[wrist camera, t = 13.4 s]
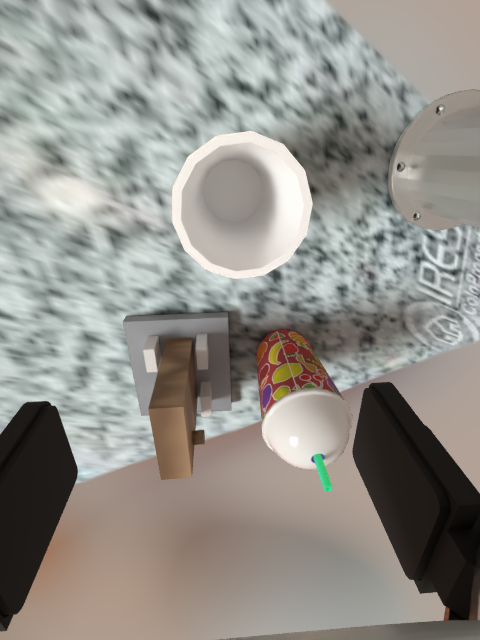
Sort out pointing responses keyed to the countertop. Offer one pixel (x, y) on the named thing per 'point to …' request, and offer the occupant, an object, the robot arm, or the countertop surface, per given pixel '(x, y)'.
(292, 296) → the countertop surface
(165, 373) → the door
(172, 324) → the hinge base
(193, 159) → the foam cup
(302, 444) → the smoothie
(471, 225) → the robot arm
